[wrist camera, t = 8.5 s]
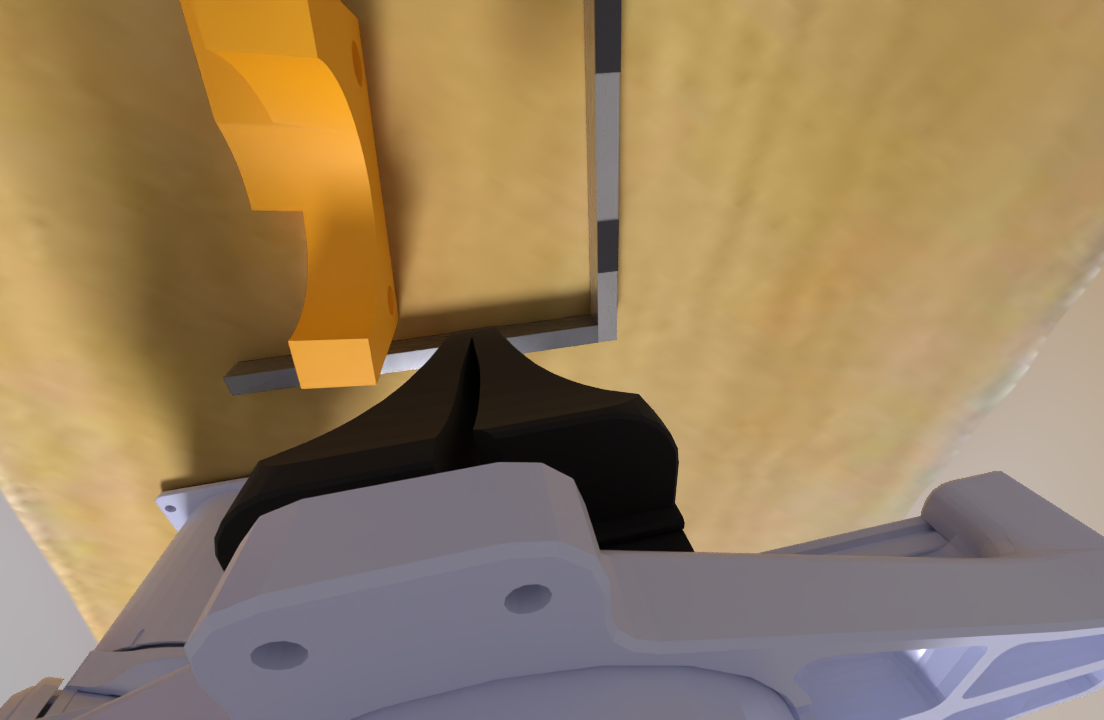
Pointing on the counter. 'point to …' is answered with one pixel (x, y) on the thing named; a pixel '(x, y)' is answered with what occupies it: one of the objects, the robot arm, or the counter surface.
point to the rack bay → (603, 230)
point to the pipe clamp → (308, 165)
